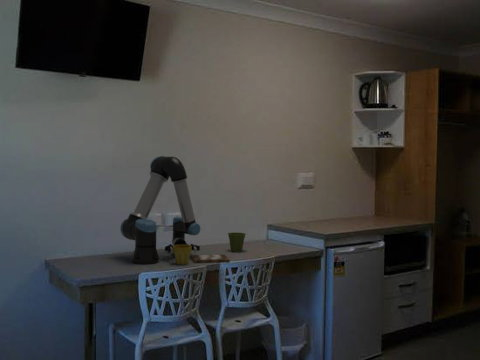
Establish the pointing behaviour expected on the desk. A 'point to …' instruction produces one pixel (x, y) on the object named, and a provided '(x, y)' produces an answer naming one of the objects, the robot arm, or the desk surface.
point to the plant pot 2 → (236, 241)
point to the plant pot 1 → (182, 253)
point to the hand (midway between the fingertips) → (183, 251)
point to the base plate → (209, 258)
